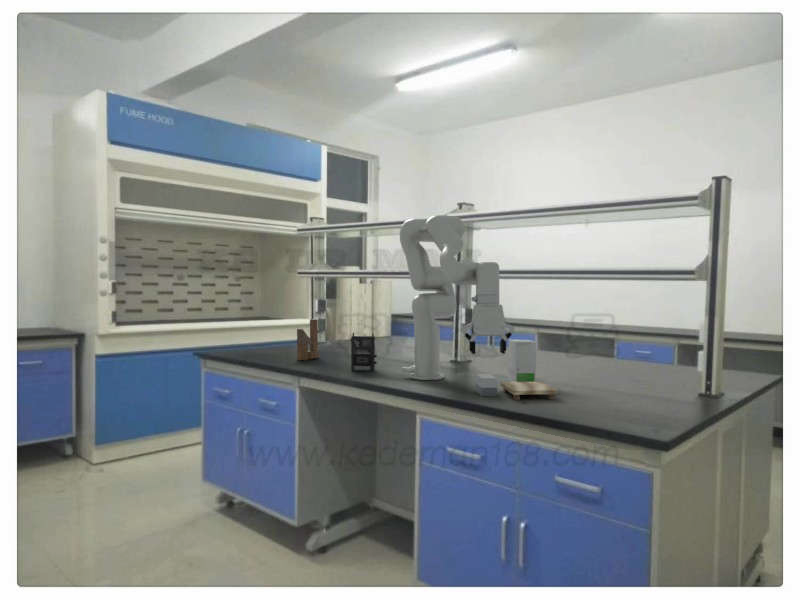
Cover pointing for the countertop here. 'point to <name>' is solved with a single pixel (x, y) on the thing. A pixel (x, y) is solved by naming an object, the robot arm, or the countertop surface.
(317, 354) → the wooden block
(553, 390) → the beech stand
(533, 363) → the skincare box
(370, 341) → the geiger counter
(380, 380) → the countertop surface
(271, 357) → the countertop surface
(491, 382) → the housing
